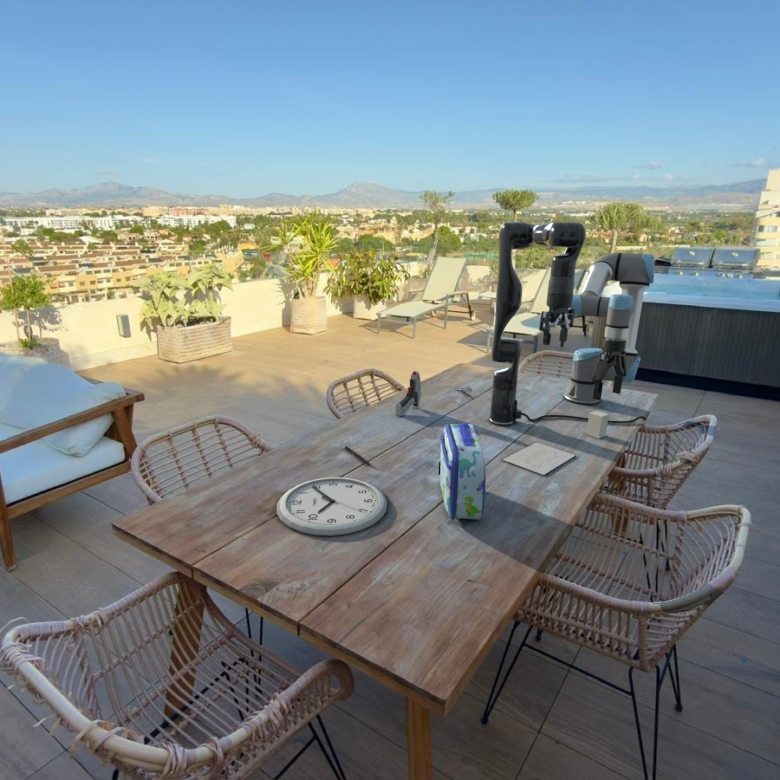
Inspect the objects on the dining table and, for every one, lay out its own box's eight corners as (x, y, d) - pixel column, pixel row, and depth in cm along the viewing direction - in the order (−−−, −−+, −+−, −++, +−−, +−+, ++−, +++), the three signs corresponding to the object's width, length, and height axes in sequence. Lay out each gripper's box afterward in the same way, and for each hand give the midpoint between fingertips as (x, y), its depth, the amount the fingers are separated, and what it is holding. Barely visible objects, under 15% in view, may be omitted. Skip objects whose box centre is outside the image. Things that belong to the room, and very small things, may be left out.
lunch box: (436, 479, 158) (439, 414, 152) (472, 480, 158) (476, 415, 152) (443, 526, 133) (448, 451, 127) (486, 527, 133) (492, 452, 127)
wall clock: (392, 527, 129) (268, 531, 127) (391, 533, 130) (269, 537, 127) (383, 473, 158) (282, 475, 155) (383, 478, 158) (282, 480, 156)
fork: (466, 397, 235) (466, 393, 234) (453, 387, 250) (453, 383, 249) (471, 397, 236) (472, 392, 235) (458, 387, 250) (458, 383, 250)
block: (592, 431, 198) (595, 410, 196) (605, 436, 194) (608, 414, 192) (586, 434, 196) (589, 412, 193) (598, 438, 192) (602, 416, 189)
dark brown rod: (344, 448, 179) (344, 445, 179) (346, 448, 179) (346, 445, 179) (367, 464, 167) (367, 462, 167) (368, 464, 167) (368, 461, 167)
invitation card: (535, 442, 186) (575, 454, 176) (535, 442, 187) (575, 455, 176) (502, 459, 172) (543, 474, 162) (502, 460, 172) (543, 475, 162)
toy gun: (394, 379, 206) (416, 369, 217) (395, 417, 212) (416, 405, 223) (399, 380, 205) (420, 370, 216) (400, 418, 211) (421, 406, 222)
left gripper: (563, 288, 166) (558, 338, 171) (535, 291, 158) (530, 343, 162) (584, 290, 160) (578, 342, 165) (557, 293, 152) (551, 348, 157)
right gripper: (623, 333, 195) (614, 388, 202) (586, 340, 180) (578, 399, 186) (642, 337, 190) (633, 393, 196) (606, 344, 175) (597, 404, 181)
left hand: (554, 343), depth 164 cm, fingers open, 8 cm apart
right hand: (606, 396), depth 191 cm, fingers open, 13 cm apart
